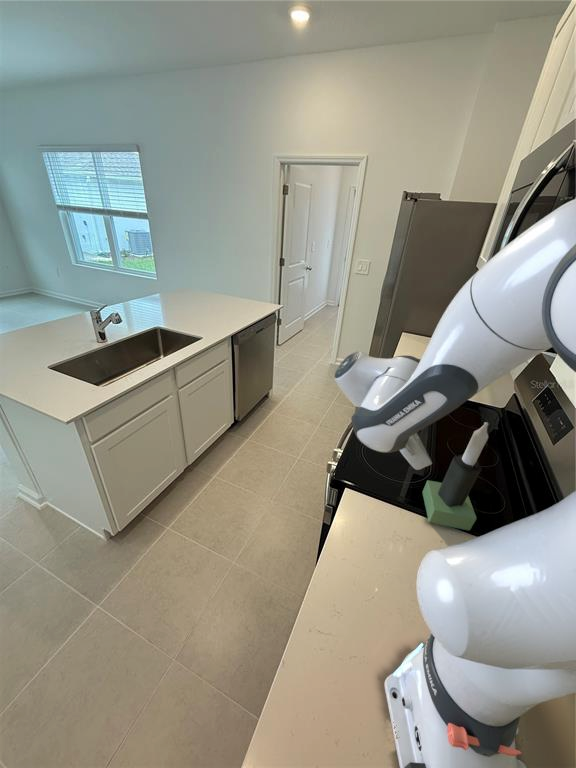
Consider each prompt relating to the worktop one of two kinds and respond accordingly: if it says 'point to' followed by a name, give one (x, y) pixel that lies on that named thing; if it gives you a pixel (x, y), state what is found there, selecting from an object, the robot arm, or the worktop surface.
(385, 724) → the worktop surface
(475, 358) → the robot arm
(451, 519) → the green block
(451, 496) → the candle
